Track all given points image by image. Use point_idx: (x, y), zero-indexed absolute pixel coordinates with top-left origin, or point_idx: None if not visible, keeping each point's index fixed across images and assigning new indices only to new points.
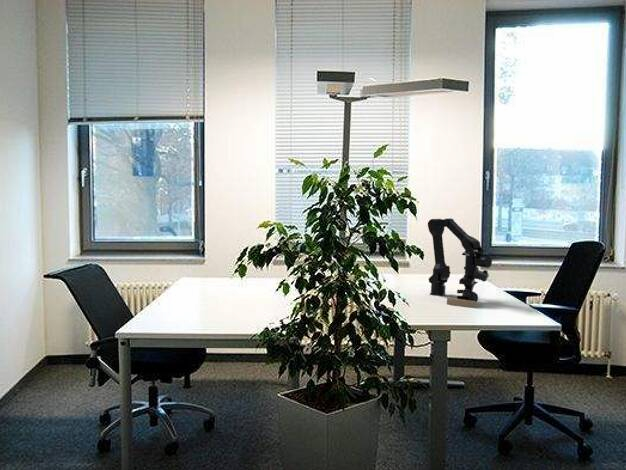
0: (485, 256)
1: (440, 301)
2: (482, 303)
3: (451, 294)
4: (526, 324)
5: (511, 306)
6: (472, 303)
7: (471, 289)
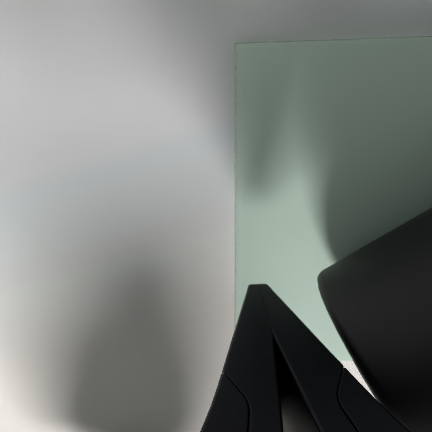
0: None
1: None
2: (326, 40)
3: (48, 425)
4: None
5: None
6: None
7: (360, 388)
